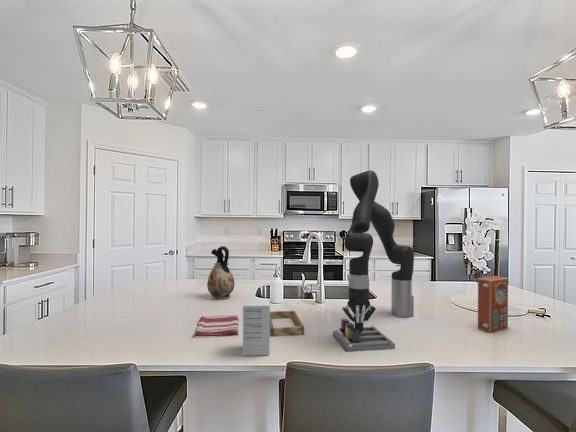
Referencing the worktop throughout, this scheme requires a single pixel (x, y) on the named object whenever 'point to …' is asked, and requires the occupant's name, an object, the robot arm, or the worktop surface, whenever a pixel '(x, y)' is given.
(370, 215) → the robot arm
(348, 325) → the breaker
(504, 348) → the worktop surface
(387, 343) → the breaker panel
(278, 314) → the wooden frame
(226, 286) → the ceramic jug
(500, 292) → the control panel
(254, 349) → the supplement box
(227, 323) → the dish towel
